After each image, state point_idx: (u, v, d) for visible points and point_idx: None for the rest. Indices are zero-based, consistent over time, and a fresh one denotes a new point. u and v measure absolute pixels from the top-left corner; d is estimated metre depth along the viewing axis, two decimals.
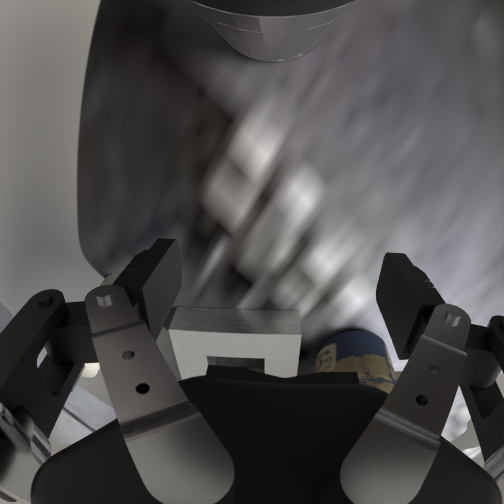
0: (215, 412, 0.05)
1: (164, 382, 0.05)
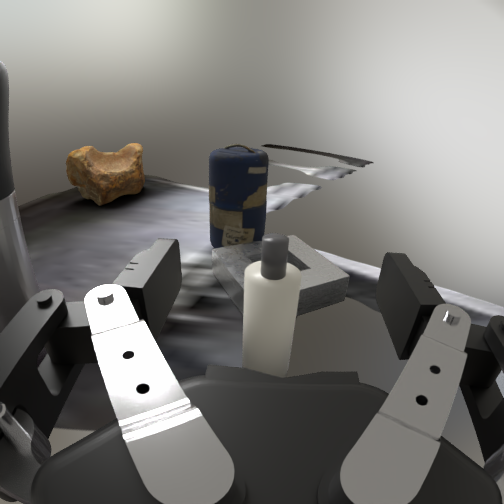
0: (215, 412, 0.05)
1: (165, 381, 0.05)
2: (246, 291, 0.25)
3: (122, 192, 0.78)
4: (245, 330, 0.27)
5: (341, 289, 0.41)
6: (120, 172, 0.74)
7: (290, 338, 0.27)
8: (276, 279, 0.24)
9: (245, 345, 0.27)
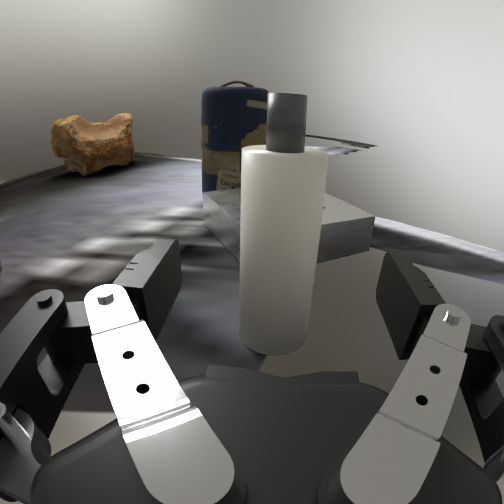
0: (215, 412, 0.05)
1: (165, 382, 0.05)
2: (244, 174, 0.16)
3: (109, 161, 0.69)
4: (243, 246, 0.17)
5: (366, 233, 0.32)
6: (107, 139, 0.65)
7: (314, 260, 0.17)
8: (290, 152, 0.15)
9: (243, 275, 0.18)
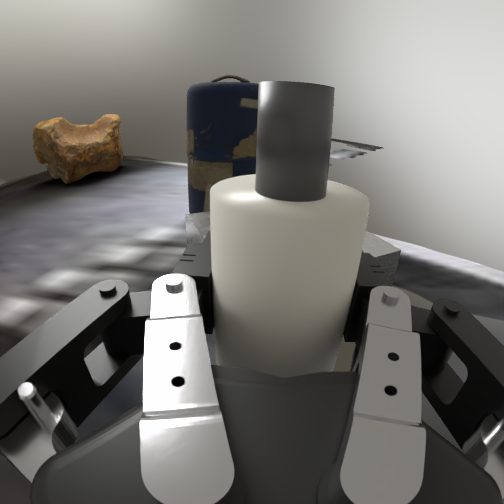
0: None
1: (201, 380, 0.05)
2: (214, 240, 0.09)
3: (94, 168, 0.62)
4: (218, 350, 0.10)
5: (388, 272, 0.25)
6: (91, 143, 0.58)
7: (331, 368, 0.10)
8: (301, 200, 0.08)
9: None
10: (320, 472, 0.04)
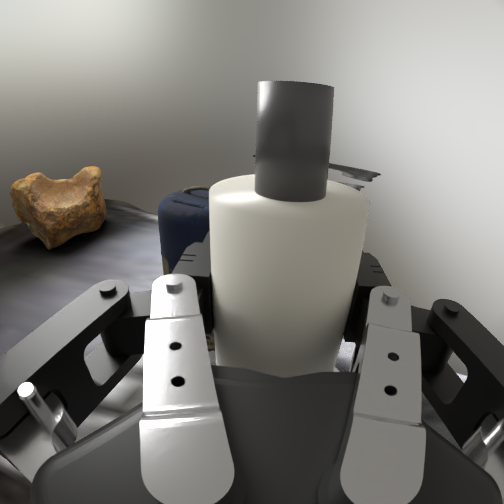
0: None
1: (202, 380, 0.05)
2: (213, 240, 0.08)
3: (75, 231, 0.59)
4: (218, 351, 0.10)
5: None
6: (70, 208, 0.55)
7: (331, 369, 0.10)
8: (301, 201, 0.08)
9: None
10: (320, 472, 0.04)
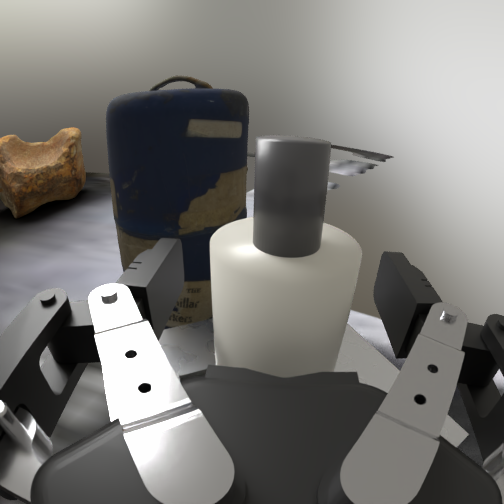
0: (215, 412, 0.05)
1: (167, 381, 0.05)
2: (214, 290, 0.09)
3: (46, 197, 0.48)
4: None
5: None
6: (40, 168, 0.44)
7: None
8: (296, 256, 0.09)
9: None
10: (331, 461, 0.04)
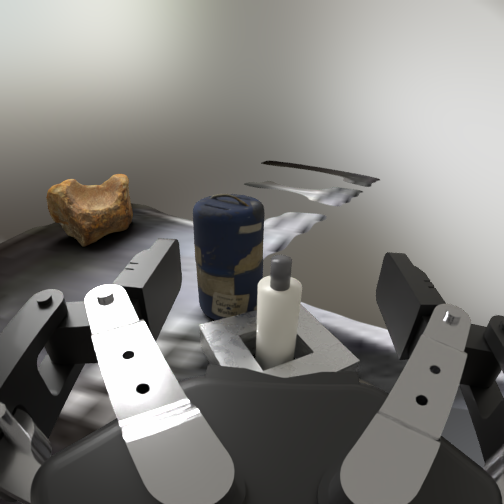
0: (215, 412, 0.05)
1: (164, 382, 0.05)
2: (259, 300, 0.32)
3: (107, 231, 0.71)
4: (258, 331, 0.34)
5: None
6: (103, 210, 0.67)
7: (294, 336, 0.33)
8: (282, 290, 0.31)
9: (258, 343, 0.34)
10: (331, 461, 0.04)
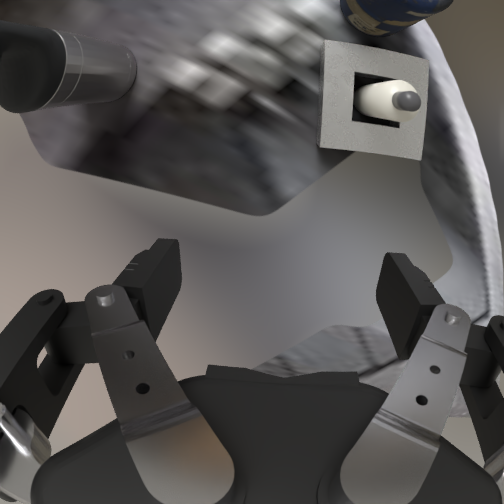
0: (215, 412, 0.05)
1: (165, 382, 0.05)
2: (377, 96, 0.28)
3: None
4: (366, 97, 0.31)
5: None
6: None
7: None
8: (398, 108, 0.27)
9: (363, 97, 0.33)
10: (331, 461, 0.04)
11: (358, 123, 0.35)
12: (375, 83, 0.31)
